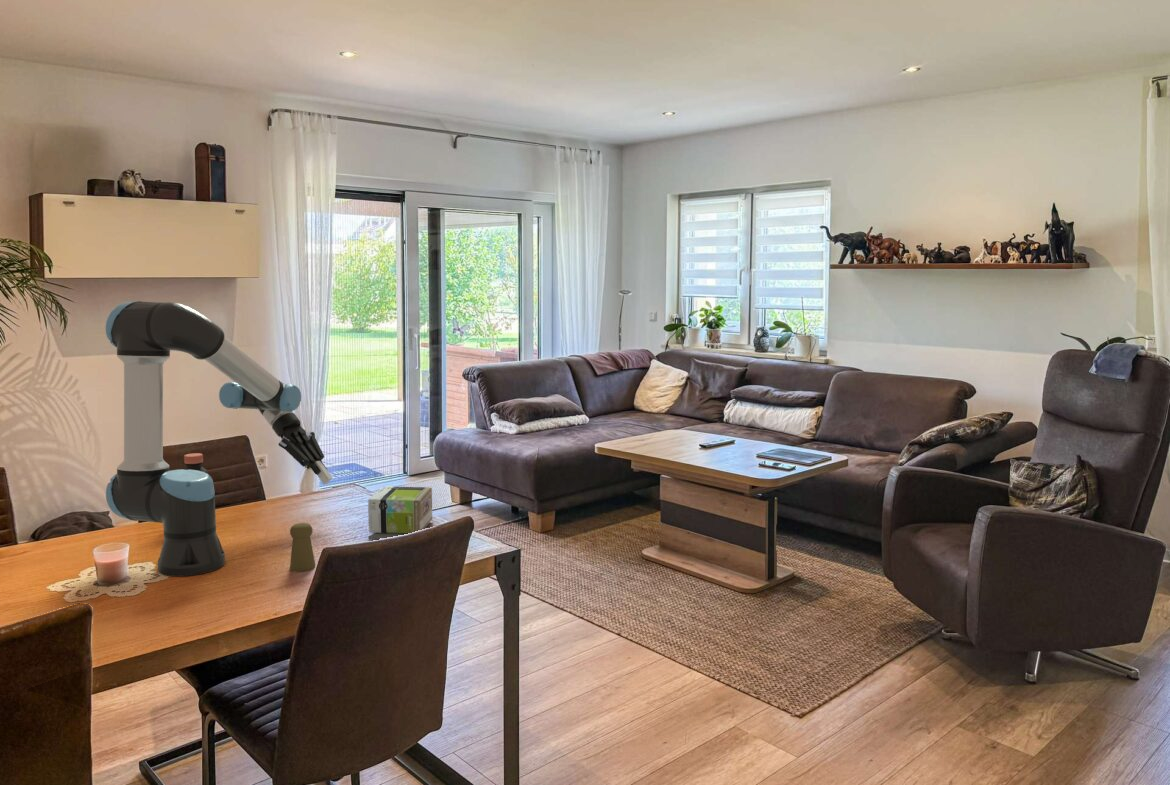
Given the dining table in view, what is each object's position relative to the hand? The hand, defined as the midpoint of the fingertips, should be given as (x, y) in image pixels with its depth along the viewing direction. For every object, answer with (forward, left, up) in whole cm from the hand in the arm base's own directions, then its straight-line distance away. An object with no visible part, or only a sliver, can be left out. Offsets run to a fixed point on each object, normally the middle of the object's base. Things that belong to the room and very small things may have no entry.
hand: (328, 481), depth 246 cm
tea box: (+2, -15, -7) cm, 17 cm away
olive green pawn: (-33, -20, -13) cm, 41 cm away
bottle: (-16, +35, -13) cm, 41 cm away
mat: (0, -24, -13) cm, 27 cm away
